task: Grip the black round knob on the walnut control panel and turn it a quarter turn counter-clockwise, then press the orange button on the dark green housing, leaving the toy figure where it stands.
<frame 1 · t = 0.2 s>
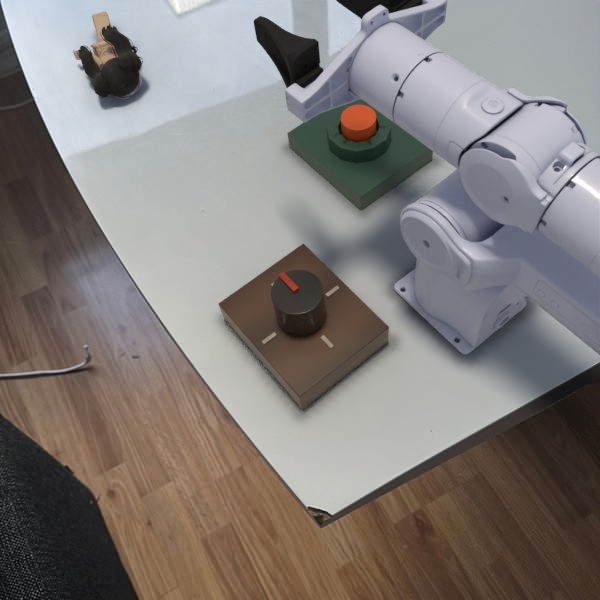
hand: (296, 4, 52), 21 cm above the table, tool horizontal, fingers open, 7 cm apart
toy figure: (113, 69, 83), on the table
knob: (299, 302, 57), point 5 cm above the table, hinge at 0.0°
button: (358, 123, 68), point 4 cm above the table, slide at 0.1 cm
panel: (304, 330, 61), on the table
button box: (359, 153, 71), on the table
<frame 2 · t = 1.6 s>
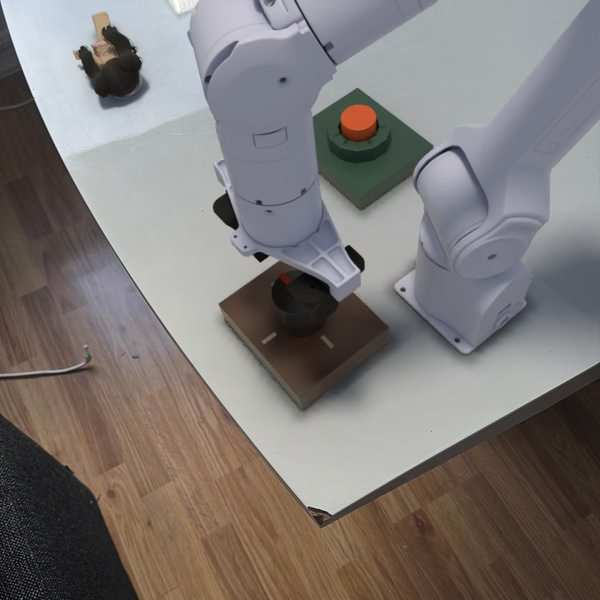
hand: (295, 282, 54), 8 cm above the table, tool pointing down, fingers open, 7 cm apart
nothing on the table moved.
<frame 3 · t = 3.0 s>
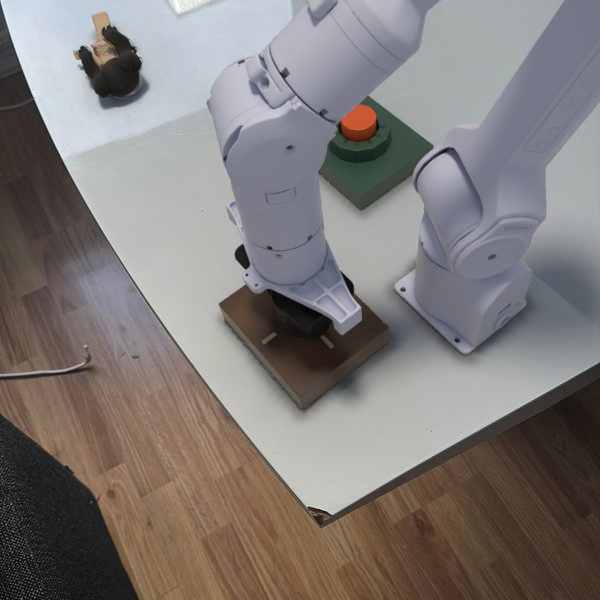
hand: (300, 312, 58), 4 cm above the table, tool pointing down, fingers closed on knob, 4 cm apart
knob: (299, 302, 57), point 5 cm above the table, hinge at 0.0°, touching gripper
everything else where it was.
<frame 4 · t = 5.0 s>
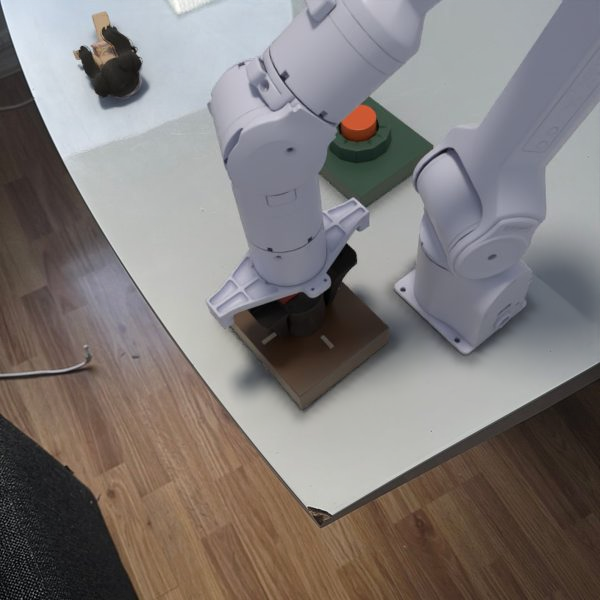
hand: (300, 313, 58), 3 cm above the table, tool pointing down, fingers closed on knob, 4 cm apart
knob: (299, 302, 57), point 5 cm above the table, hinge at 89.7°, touching gripper
everything else where it was.
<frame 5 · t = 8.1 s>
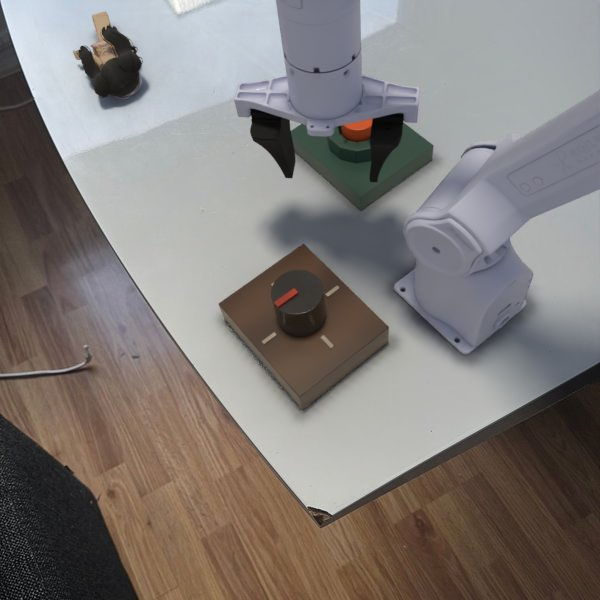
hand: (332, 171, 60), 8 cm above the table, tool pointing down, fingers open, 7 cm apart
knob: (299, 302, 57), point 5 cm above the table, hinge at 89.5°
everything else where it was.
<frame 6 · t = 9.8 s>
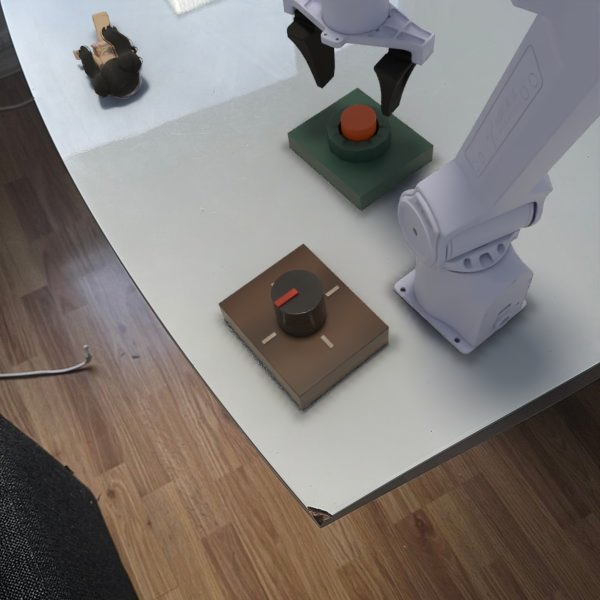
hand: (357, 95, 64), 8 cm above the table, tool pointing down, fingers open, 7 cm apart
nothing on the table moved.
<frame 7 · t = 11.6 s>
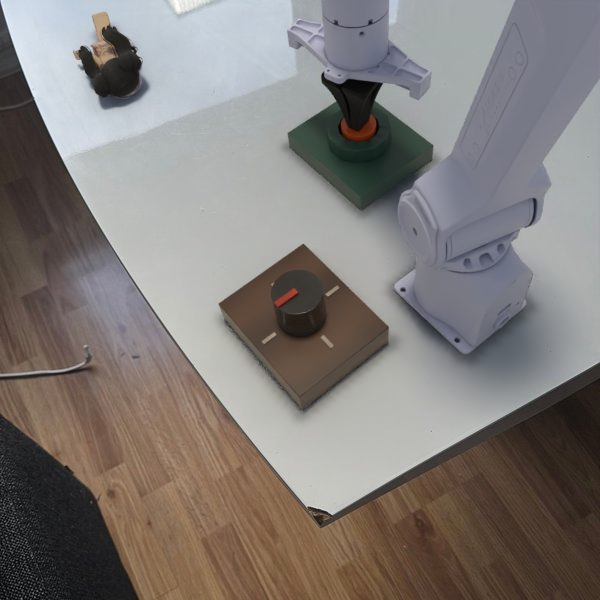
hand: (358, 123, 68), 4 cm above the table, tool pointing down, fingers closed, pressing on button
button: (358, 129, 68), point 4 cm above the table, slide at -0.8 cm, touching gripper
everything else where it was.
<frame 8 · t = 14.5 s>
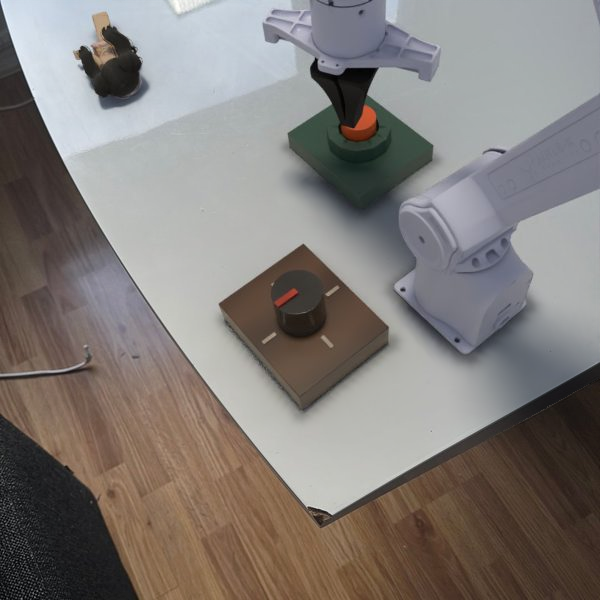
hand: (351, 119, 60), 10 cm above the table, tool pointing down, fingers closed
button: (358, 123, 68), point 4 cm above the table, slide at 0.1 cm
everything else where it was.
at the end: knob at +90° (first picture: +0°); button pushed in 1.2 cm at the most during the clip, back to where it started at the end; toy figure moved 0.2 cm from its start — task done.
